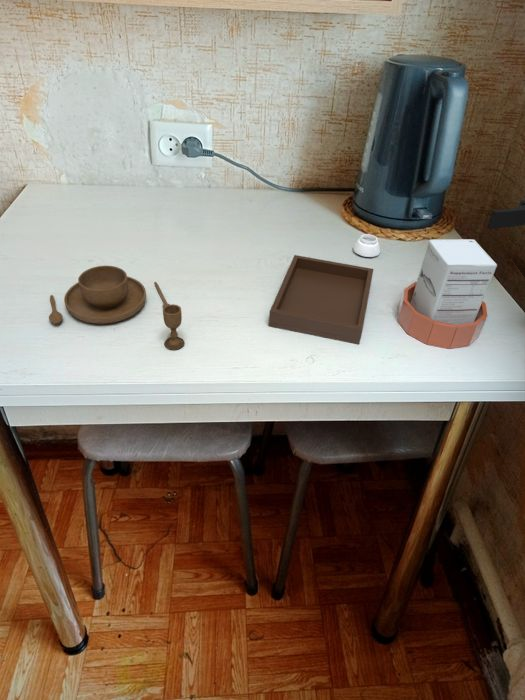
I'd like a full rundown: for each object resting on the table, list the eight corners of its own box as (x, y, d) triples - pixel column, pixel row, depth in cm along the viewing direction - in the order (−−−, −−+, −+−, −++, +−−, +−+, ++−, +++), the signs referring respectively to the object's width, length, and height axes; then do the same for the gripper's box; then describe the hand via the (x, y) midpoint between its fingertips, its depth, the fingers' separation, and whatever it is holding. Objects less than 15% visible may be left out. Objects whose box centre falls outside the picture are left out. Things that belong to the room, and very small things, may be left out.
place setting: (155, 275, 85) (152, 243, 81) (190, 346, 71) (189, 312, 67) (44, 293, 79) (35, 260, 75) (59, 375, 65) (49, 339, 62)
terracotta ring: (480, 355, 73) (490, 333, 71) (395, 338, 75) (402, 316, 73) (475, 309, 83) (483, 288, 80) (399, 295, 85) (405, 274, 82)
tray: (359, 344, 74) (362, 329, 72) (268, 326, 76) (269, 311, 74) (370, 282, 87) (373, 268, 85) (292, 268, 89) (294, 254, 87)
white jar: (382, 259, 94) (376, 246, 97) (385, 244, 92) (379, 231, 96) (355, 258, 93) (350, 245, 97) (358, 244, 91) (353, 231, 95)
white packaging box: (406, 309, 81) (427, 238, 73) (451, 309, 82) (476, 238, 74) (422, 338, 76) (447, 264, 68) (469, 337, 77) (499, 264, 68)
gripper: (692, 291, 72) (573, 311, 67) (564, 215, 90) (462, 225, 85) (725, 243, 67) (600, 260, 62) (583, 173, 85) (477, 181, 80)
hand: (520, 240), depth 73 cm, fingers open, 13 cm apart
